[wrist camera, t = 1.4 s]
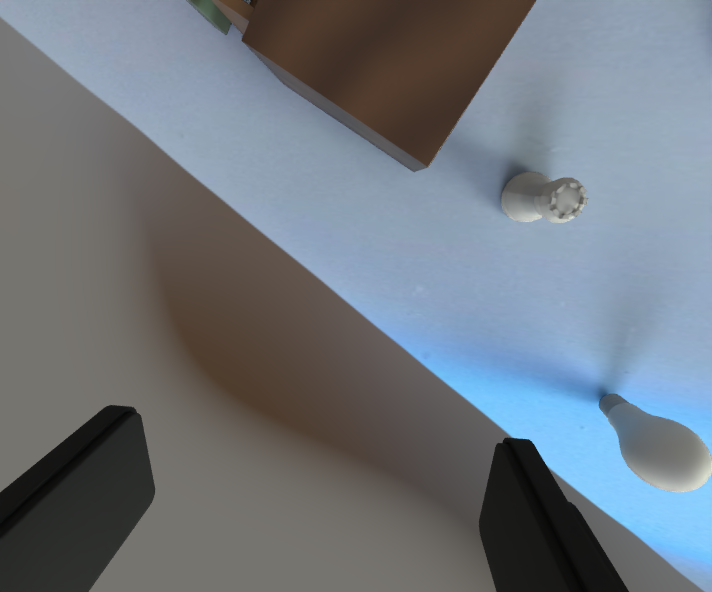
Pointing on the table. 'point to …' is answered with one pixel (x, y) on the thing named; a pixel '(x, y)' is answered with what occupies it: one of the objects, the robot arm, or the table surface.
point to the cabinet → (386, 62)
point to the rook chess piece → (543, 198)
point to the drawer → (225, 13)
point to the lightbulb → (658, 447)
